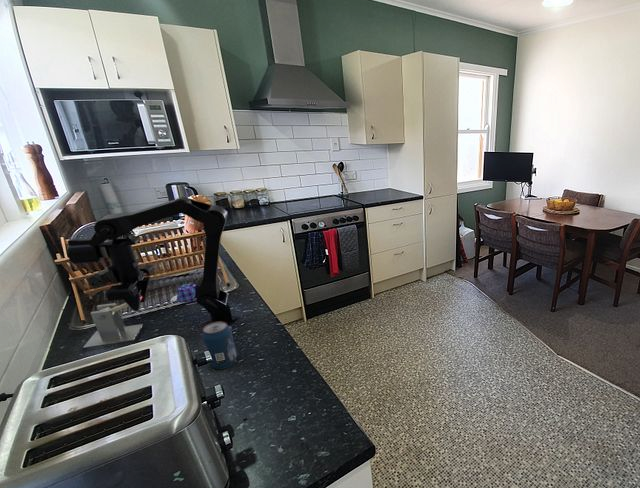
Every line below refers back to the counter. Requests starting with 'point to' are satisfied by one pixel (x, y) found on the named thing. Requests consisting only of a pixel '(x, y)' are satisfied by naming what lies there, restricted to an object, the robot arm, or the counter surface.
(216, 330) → the soda can
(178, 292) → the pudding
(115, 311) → the switch lever
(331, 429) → the counter surface
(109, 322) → the switch bracket
